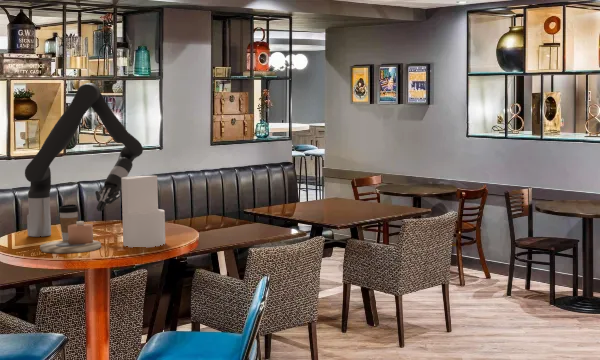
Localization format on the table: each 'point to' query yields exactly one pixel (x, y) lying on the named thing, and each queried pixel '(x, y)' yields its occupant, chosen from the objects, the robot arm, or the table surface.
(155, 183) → the grey piece
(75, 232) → the knobbed pink canister
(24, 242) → the table surface
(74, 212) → the coffee cup
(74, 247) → the serving board
